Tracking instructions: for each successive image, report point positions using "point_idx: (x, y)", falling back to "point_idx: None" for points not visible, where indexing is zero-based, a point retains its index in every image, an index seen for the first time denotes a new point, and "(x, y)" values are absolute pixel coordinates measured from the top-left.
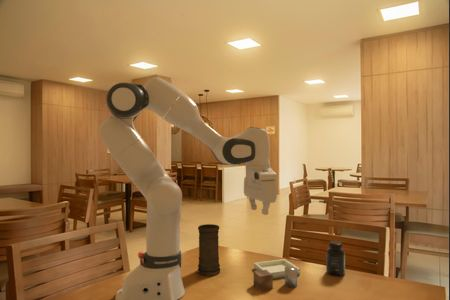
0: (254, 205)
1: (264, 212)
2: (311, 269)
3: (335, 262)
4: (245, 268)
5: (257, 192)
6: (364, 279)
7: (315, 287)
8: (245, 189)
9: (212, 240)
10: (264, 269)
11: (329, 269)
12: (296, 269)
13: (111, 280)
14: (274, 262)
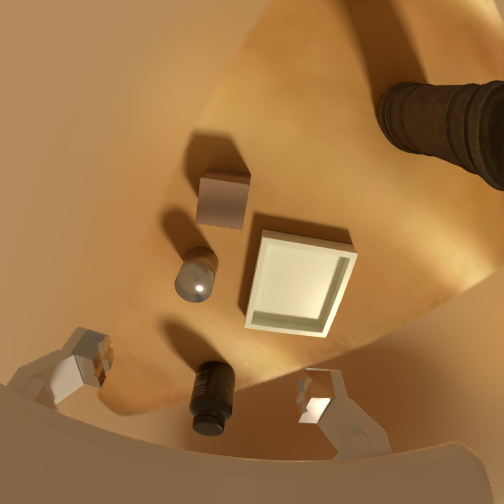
0: (306, 407)
1: (73, 340)
2: (260, 354)
3: (196, 386)
4: (370, 225)
5: (49, 494)
6: (169, 384)
7: (167, 298)
8: (454, 501)
9: (444, 116)
10: (318, 261)
11: (212, 369)
12: (179, 293)
13: None
14: (330, 306)
